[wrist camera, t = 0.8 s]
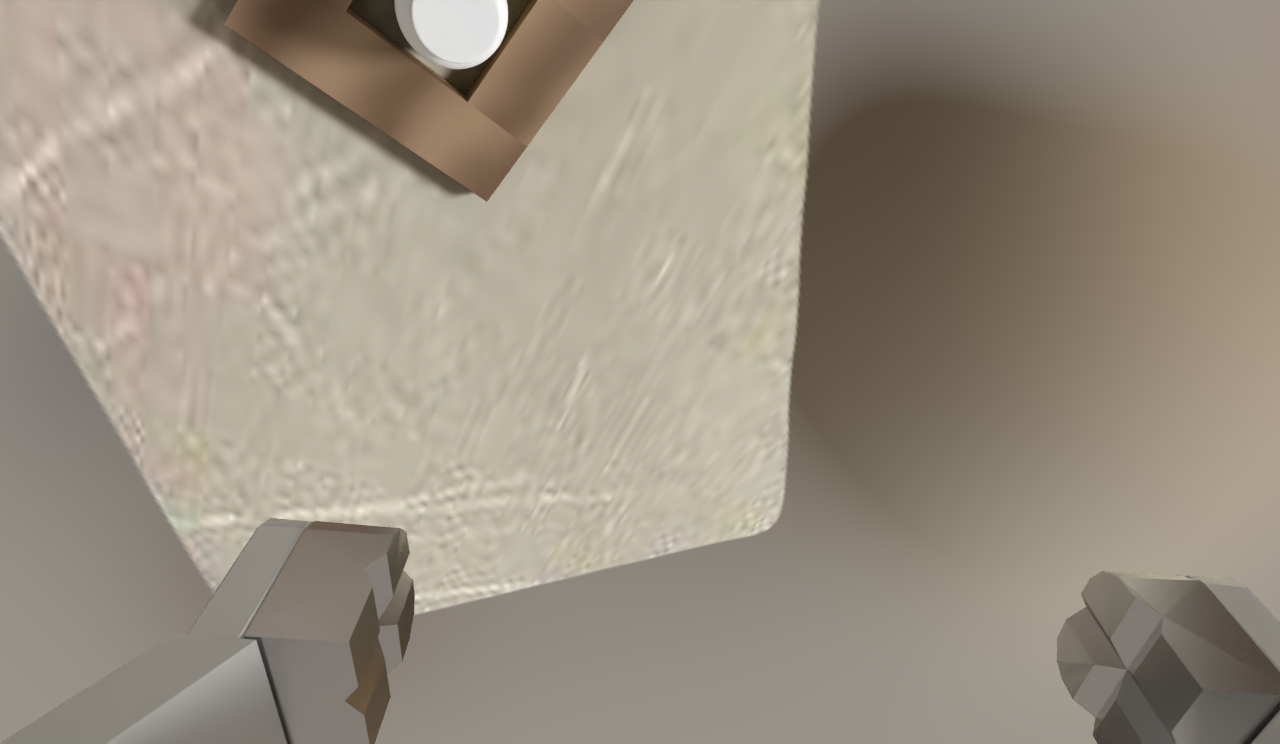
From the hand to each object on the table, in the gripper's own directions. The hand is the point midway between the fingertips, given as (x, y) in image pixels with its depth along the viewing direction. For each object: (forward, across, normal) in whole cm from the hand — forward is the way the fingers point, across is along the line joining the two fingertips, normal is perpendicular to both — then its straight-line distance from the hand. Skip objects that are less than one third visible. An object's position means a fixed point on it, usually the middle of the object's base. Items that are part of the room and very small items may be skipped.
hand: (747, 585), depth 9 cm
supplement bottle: (+40, +13, -3) cm, 42 cm away
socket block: (+40, +13, -3) cm, 42 cm away
